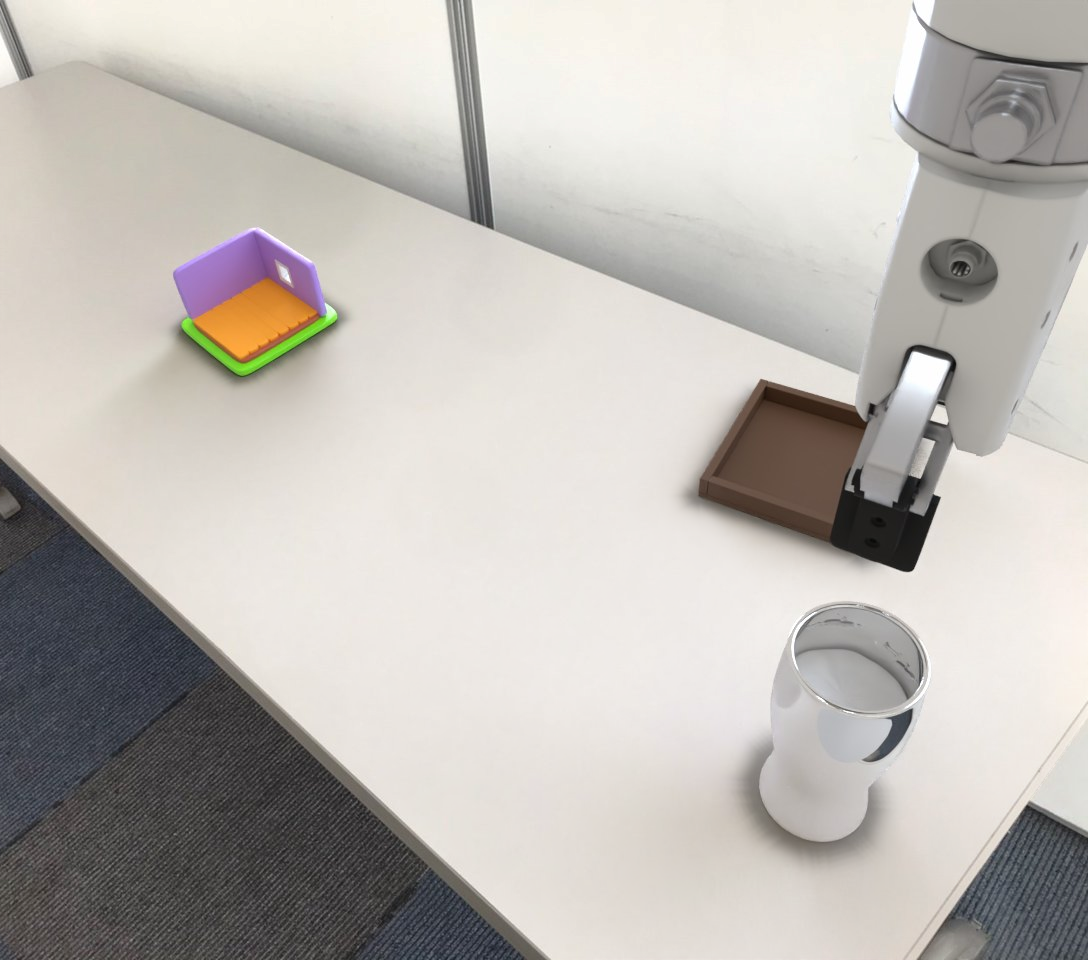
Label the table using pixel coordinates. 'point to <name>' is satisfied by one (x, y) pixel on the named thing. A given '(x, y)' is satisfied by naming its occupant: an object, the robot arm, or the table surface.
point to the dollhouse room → (251, 300)
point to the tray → (786, 458)
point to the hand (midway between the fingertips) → (910, 472)
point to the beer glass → (840, 715)
